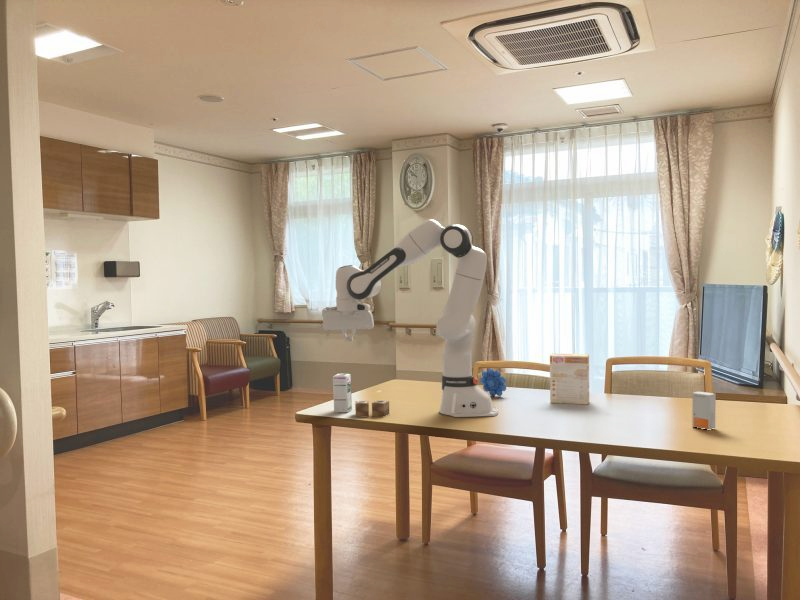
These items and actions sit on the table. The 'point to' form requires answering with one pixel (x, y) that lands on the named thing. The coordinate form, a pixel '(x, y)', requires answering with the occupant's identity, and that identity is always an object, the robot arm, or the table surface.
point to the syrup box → (342, 392)
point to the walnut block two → (380, 408)
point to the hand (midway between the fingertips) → (349, 341)
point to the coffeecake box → (569, 378)
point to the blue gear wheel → (493, 382)
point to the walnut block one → (362, 408)
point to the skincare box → (703, 410)
